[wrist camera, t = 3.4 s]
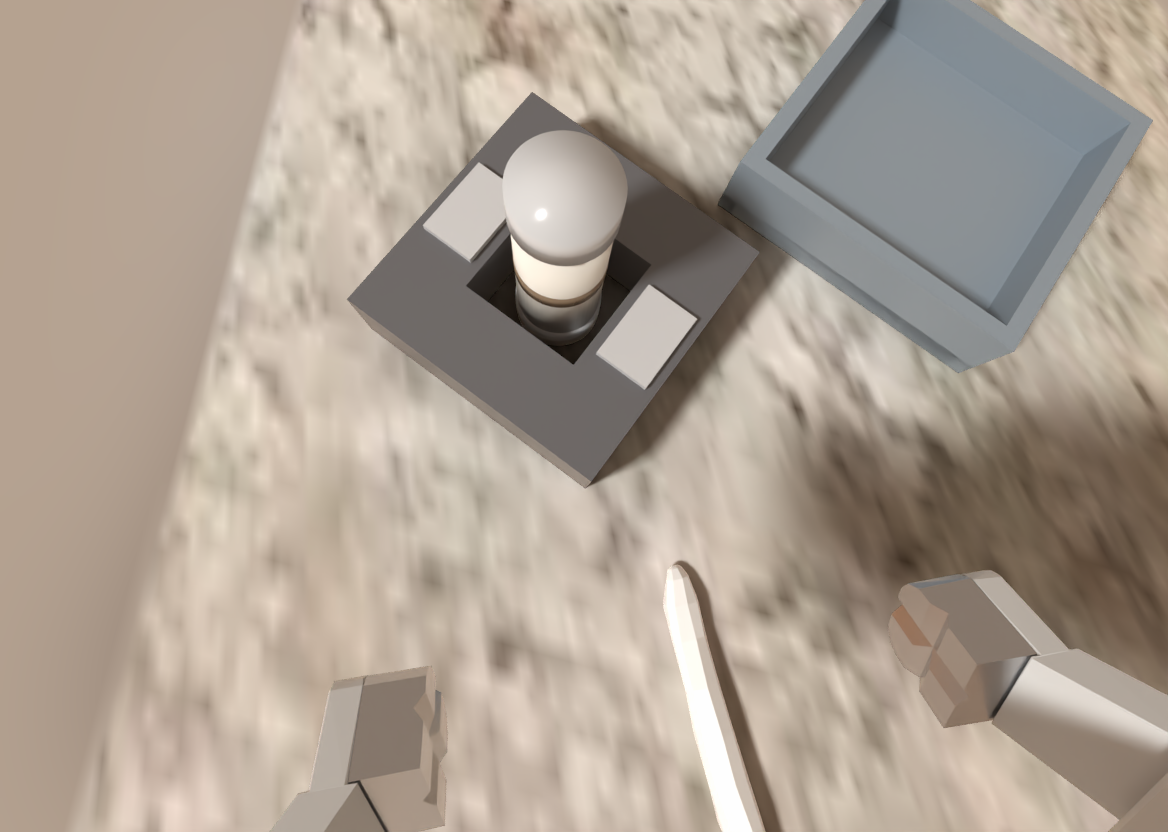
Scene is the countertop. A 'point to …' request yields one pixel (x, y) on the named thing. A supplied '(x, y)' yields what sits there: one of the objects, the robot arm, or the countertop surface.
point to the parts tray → (937, 172)
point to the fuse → (562, 230)
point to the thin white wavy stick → (709, 709)
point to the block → (513, 355)
